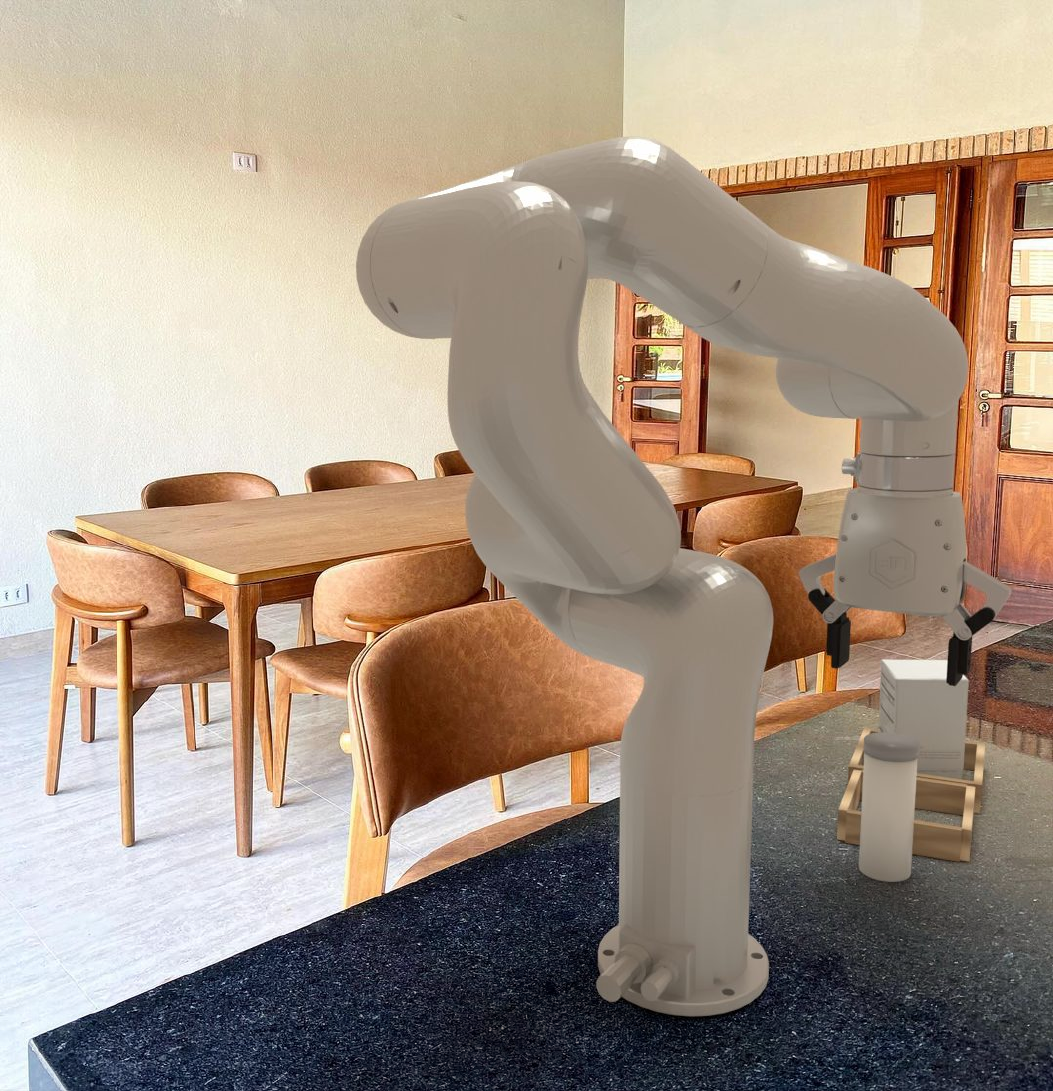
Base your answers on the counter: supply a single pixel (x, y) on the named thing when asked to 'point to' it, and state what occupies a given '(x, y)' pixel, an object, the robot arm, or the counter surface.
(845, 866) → the counter surface
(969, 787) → the oak rack
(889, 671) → the supplement box
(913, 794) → the frosted tube
